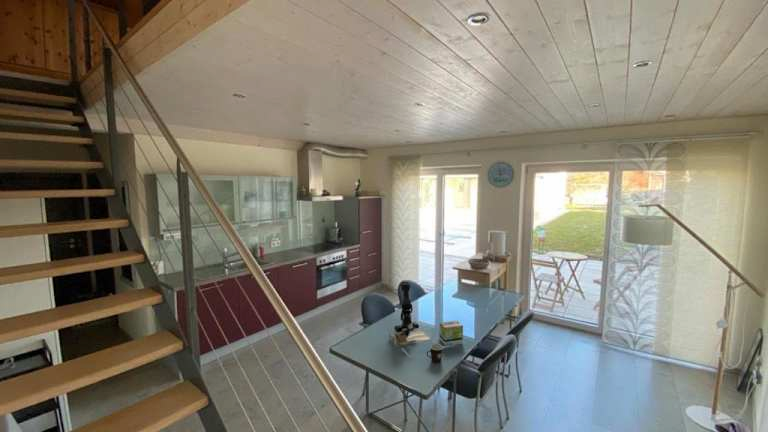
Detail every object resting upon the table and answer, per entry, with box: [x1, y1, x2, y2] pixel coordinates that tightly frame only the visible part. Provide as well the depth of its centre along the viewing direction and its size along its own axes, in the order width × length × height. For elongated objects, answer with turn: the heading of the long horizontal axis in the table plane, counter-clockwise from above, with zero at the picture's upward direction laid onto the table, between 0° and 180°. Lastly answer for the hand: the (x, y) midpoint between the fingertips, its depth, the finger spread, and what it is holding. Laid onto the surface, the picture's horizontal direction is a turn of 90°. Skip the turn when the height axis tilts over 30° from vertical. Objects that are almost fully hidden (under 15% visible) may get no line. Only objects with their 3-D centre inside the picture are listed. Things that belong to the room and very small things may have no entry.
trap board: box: [389, 330, 431, 349], centre depth 251 cm, size 15×28×5 cm, turn 112°
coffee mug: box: [426, 343, 444, 364], centre depth 222 cm, size 12×9×10 cm
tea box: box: [438, 320, 464, 347], centre depth 247 cm, size 15×10×15 cm
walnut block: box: [395, 331, 406, 343], centre depth 248 cm, size 6×6×5 cm
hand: (406, 337), depth 250 cm, fingers closed
